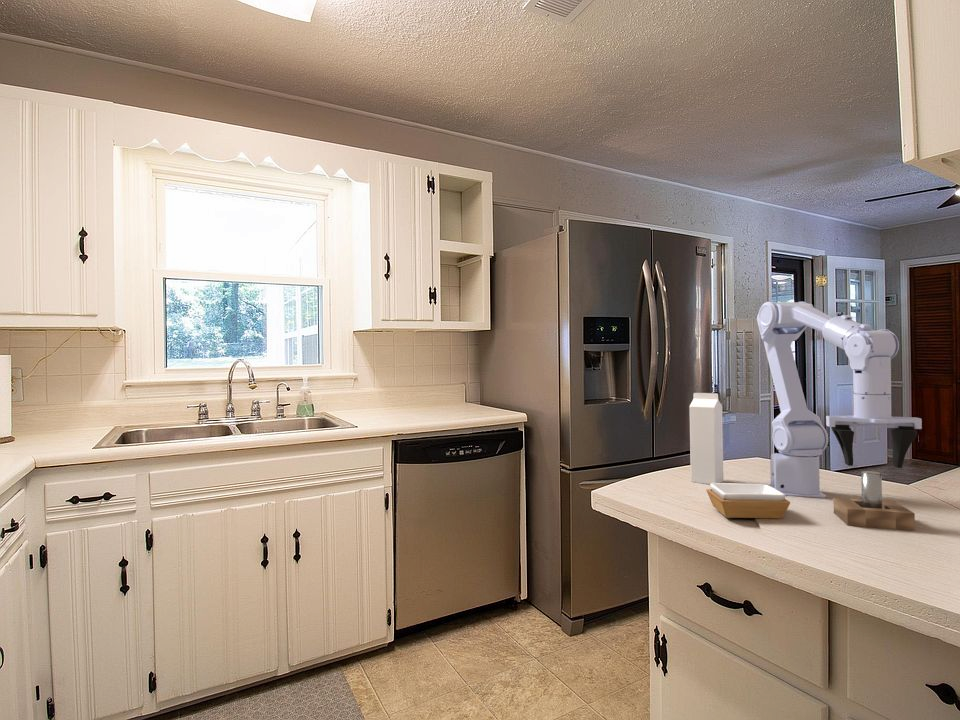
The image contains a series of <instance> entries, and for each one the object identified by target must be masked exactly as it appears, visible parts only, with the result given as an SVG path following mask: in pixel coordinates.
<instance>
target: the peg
mask: <svg viewBox="0 0 960 720" xmlns="http://www.w3.org/2000/svg"><path fill="white" fill-rule="evenodd" d="M860 474H861V499H862V507H863V508H878V509H882V501H883V484H882V483H883V481H882V480H883V479H882V476H883V475H882V472H880V471H879V472H877V471H870V470H864V471H863V470H862V471H861V473H860Z"/></svg>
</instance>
